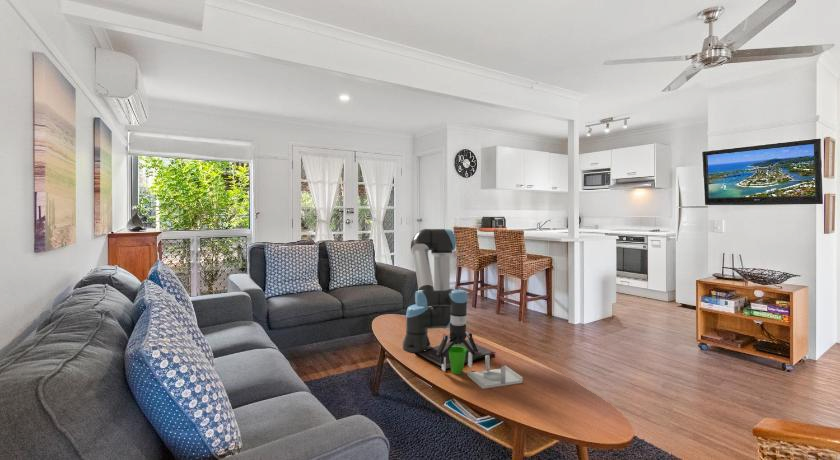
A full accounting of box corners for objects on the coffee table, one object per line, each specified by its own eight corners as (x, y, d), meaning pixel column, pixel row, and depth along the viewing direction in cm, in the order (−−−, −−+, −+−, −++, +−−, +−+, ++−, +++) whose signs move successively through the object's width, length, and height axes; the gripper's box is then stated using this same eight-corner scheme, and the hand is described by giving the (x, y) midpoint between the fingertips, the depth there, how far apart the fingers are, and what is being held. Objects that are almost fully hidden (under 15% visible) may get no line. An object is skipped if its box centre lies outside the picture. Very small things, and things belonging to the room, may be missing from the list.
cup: (465, 377, 183) (466, 353, 182) (445, 375, 185) (446, 351, 184) (467, 369, 192) (468, 346, 191) (448, 367, 194) (449, 345, 193)
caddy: (466, 375, 185) (467, 357, 185) (504, 369, 192) (505, 352, 192) (483, 389, 171) (484, 370, 170) (523, 383, 178) (524, 365, 177)
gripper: (436, 328, 179) (435, 375, 180) (485, 323, 188) (484, 368, 189) (430, 323, 186) (429, 368, 187) (478, 319, 195) (476, 362, 196)
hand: (456, 368), depth 188 cm, fingers open, 13 cm apart
